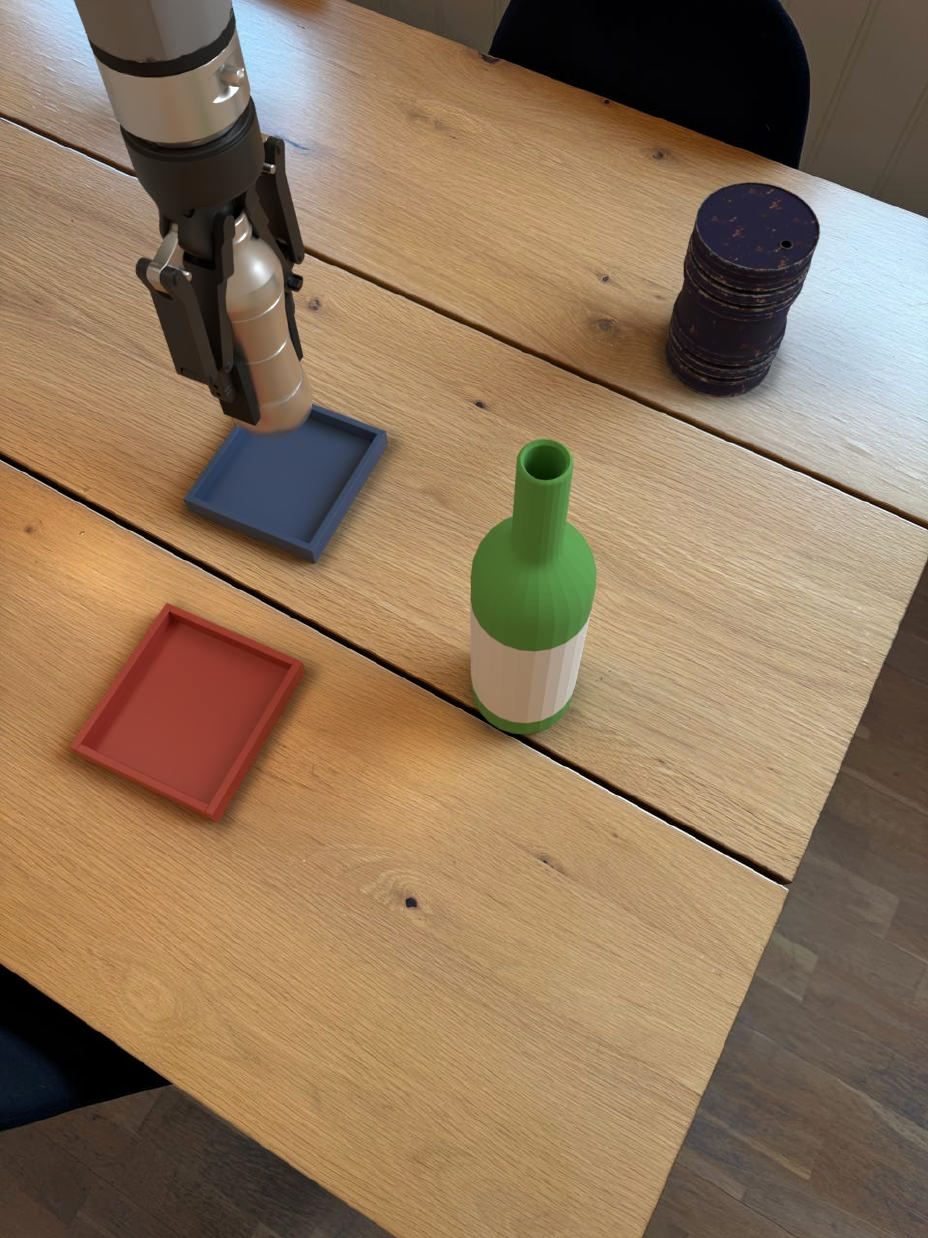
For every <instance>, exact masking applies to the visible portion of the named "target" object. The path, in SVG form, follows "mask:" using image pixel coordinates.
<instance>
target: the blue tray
mask: <svg viewBox="0 0 928 1238" xmlns="http://www.w3.org/2000/svg"><path fill="white" fill-rule="evenodd" d="M388 445H389V441H388V433H387V431H386V430H384V429H381V428H378V427H376V426H374V425H370V424H368V423H365V422H363V421H360V420H357V419H354V418H352V417H349V416H348V415H347V416H346V415H344V414H342V413H338V412H336V411H333V410H330V409H328V408H325V407H322V406H320V405H317V404H314V403H312V408H311V412H310V414H309V417H308V418H307V420H306V421H305V422H304V423H303V425H302V426H301V427H299V428H298V429H297V430H296V431H294V432H293V433H291V434H289V435H287V436H284V437H280V438H272V439H270V438H261V437H257V436H254V435H252V434H249V433H247V432H245V431H244V430H242V429H241V428H240V427H239V426H238V425H237V424H236V423H235V424H234V425H233V428H232V429H231V430H230V432H229V433H228V434H227V436H226V437H225V439H224V440H223V442H222V443H221V444H220V446H219V447H218V448H217V450H216V452H215V453H214V455H213V456H212V457H211V459H210V460H209V462H208V463H207V465H206V466H205V468H203V470H202V472H201V473H200V475H199V476H198V477H197V479H196V480H195V482H194V483H193V485H192V486H191V487H190V489H189V490H188V492H187V493H186V494H185V496H184V498H183V501H184V504H185V507H186V508H187V510H188V512H190V513H192V514H194V515H197V516H198V517H201V518H203V519H207V520H208V521H210V522H213V523H216V524H219V525H221V526H223V527H226V528H229V530H232V531H235V532H238V533H240V534H242V535H245V536H247V537H250V538H252V539H254V540H257V541H259V542H263V543H265V544H267V545H269V546H271V547H274V548H277V549H279V550H281V551H284V552H286V553H289V554H291V555H294V556H297V557H298V558H301V559H304V560H306V561H309V562H310V563H314V564H316V563H317V562H318V560H319V559H320V557H321V555H322V553H323V552H324V550H325V548H326V547H327V545H328V544H329V542H330V540H331V539H332V537H333V536H334V534H335V532H336V530H337V529H338V527H339V526H340V524H341V522H342V520H343V519H344V518H345V516H346V514H347V513H348V511H349V509H350V508H351V506H352V504H353V503H354V501H355V499H356V498H357V496H358V494H359V493H360V491H361V489H362V488H363V487H364V485H365V483H366V482H367V480H368V478H369V477H370V475H371V474H372V472H373V470H374V469H375V467H376V465H377V464H378V461H379V460H380V459H381V457H382V455H383V454H384V452H385V451H386V449H387V447H388Z"/></svg>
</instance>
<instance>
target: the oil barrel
mask: <svg viewBox="0 0 928 1238" xmlns="http://www.w3.org/2000/svg"><path fill="white" fill-rule="evenodd" d="M820 237H821V224H820V220H819V218H818V216H817V215H816V212H815V211H814V210H813V208H812V207H811V206H810V205H809V204H808V202H807V201H805V200H804V199H803V198H801V197H800V196H798V194H795V193H794V192H792V191H790V190H788V189H786V188H784V187H781V186H778V185H774V184H772V183H771V184H770V183H765V182H759V181H758V182H757V181H747V182H736V183H732V184H728V185H724V186H723V187H720V188H718V189H716V190H714V191H713V192H711V193H710V194H709V195H708V196H707V197H705V199H703V200H702V202H701V203H700V205H699V207H698V209H697V212H696V216H695V220H694V224H693V229H692V231H691V233H690V236H689V238H688V239H689V240H688V244H687V247H686V253H685V256H684V259H683V267H682V268H683V269H682V270H683V272H682V273H683V274H682V275H683V284H682V287H681V290H680V291H679V293H678V295H677V296H676V298H675V300H674V303H673V307H672V311H671V315H670V319H669V323H668V327H667V328H668V329H667V330H668V332H667V338H666V342H665V347H664V358H665V362H666V365H667V368H668V369H669V371H670V372H671V374H672V375H673V376H674V378H675V380H677V381H678V382H679V383H681V384H682V385H683V386H685V387H686V388H688V389H690V390H692V391H693V392H696V393H698V394H701V395H705V396H708V397H714V398H731V397H737V396H742V395H744V394H747V393H750V392H751V391H753V390H754V389H756V388H757V387H759V386H761V384H762V383H763V382H764V380H765V379H766V378H767V377H768V374H769V372H770V370H771V367H772V363H773V361H774V360H775V358H776V357H777V355H778V353H779V350H780V347H781V345H782V342H783V340H784V337H785V334H786V329H787V326H788V325H787V324H788V314H789V311H790V309H791V307H792V305H794V303H795V302H796V300H797V298H798V297H799V296H800V294H801V292H802V290H803V288H804V283H805V281H806V279H807V276H808V274H809V271H810V268H811V265H812V259H813V257H814V254H815V251H816V248H817V247H818V244H819V242H820V241H819V240H820Z"/></svg>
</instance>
